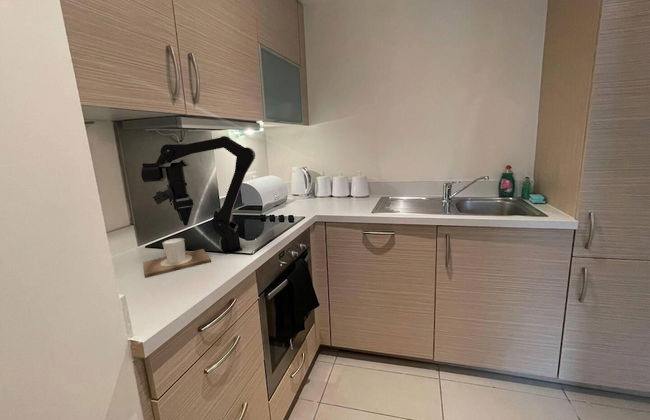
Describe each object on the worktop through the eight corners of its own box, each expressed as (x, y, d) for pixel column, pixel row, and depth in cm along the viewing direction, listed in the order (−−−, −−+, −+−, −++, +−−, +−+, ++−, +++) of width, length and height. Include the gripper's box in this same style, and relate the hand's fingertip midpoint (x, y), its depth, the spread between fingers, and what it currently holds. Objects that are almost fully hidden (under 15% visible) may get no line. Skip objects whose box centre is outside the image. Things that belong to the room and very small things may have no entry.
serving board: (203, 251, 123) (203, 248, 122) (211, 261, 111) (210, 258, 110) (143, 264, 113) (143, 261, 113) (145, 277, 101) (144, 274, 101)
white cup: (162, 262, 111) (158, 242, 109) (180, 255, 116) (176, 236, 115) (173, 265, 107) (169, 244, 106) (191, 257, 113) (188, 238, 111)
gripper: (149, 181, 118) (157, 222, 122) (152, 185, 103) (161, 233, 106) (182, 177, 124) (189, 217, 127) (189, 181, 108) (197, 226, 111)
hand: (183, 223), depth 118 cm, fingers open, 9 cm apart
